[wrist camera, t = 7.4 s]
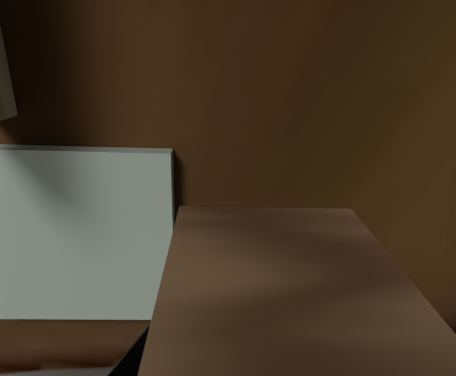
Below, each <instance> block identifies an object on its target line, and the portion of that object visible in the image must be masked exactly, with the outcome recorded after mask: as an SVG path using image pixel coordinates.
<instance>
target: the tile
mask: <svg viewBox="0 0 456 376" xmlns="http://www.w3.org/2000/svg"><path fill="white" fill-rule="evenodd" d="M174 225H175V211H174V173H173V149H161V148H122V147H83V146H44V145H5V144H0V319H87V320H151V319H152V315H153V311H154V307H155V303H156V299H157V295H158V291H159V286H160V282H161V278H162V274H163V270H164V266H165V262H166V258H167V254H168V250H169V246H170V242H171V238H172V234H173V229H174Z"/></svg>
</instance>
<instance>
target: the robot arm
mask: <svg viewBox="0 0 456 376" xmlns="http://www.w3.org/2000/svg"><path fill="white" fill-rule="evenodd" d="M149 327H150V324H149V326H148V327H147V328H146V329H145V330H144V332H143V333H142V334H141V335H140V336H139V338H138V339H137V340H136V341H135V343H134V344H133V345H132V346H131V347H130V349H129V350H128V351H127V352H126V353H125V355H124V356H123V357H122V358H121V360H120V361H119V362H118V363H117V364H116V366H115V367H114V368H113V369H112V371H111V372H110V373H109V374H108V375H107V376H138V372H139V368H140V364H141V360H142V356H143V352H144V348H145V343H146V339H147V335H148V331H149Z"/></svg>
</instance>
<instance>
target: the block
mask: <svg viewBox="0 0 456 376" xmlns="http://www.w3.org/2000/svg"><path fill="white" fill-rule="evenodd" d="M138 376H456V334H455V333H454V332H453V331H452V329H451V328H450V327H449V326H448V325H447V323H446V322H445V321H444V320H443V319H442V317H441V316H440V315H439V314H438V313H437V311H436V310H435V309H434V308H433V307H432V305H431V304H430V303H429V302H428V301H427V299H426V298H425V297H424V296H423V295H422V293H421V292H420V291H419V290H418V289H417V287H416V286H415V285H414V284H413V283H412V281H411V280H410V279H409V278H408V277H407V275H406V274H405V273H404V272H403V271H402V269H401V268H400V267H399V266H398V265H397V263H396V262H395V261H394V260H393V259H392V257H391V256H390V255H389V254H388V253H387V251H386V250H385V249H384V248H383V247H382V245H381V244H380V243H379V242H378V241H377V239H376V238H375V237H374V236H373V235H372V233H371V232H370V231H369V230H368V229H367V227H366V226H365V225H364V224H363V223H362V221H361V220H360V219H359V218H358V217H357V215H356V214H355V213H354V212H353V211H352V209H320V208H269V207H218V206H179V209H178V213H177V217H176V221H175V225H174V229H173V234H172V238H171V242H170V246H169V250H168V254H167V258H166V262H165V266H164V270H163V274H162V278H161V282H160V286H159V291H158V295H157V299H156V303H155V307H154V311H153V315H152V319H151V323H150V327H149V331H148V335H147V339H146V343H145V348H144V352H143V356H142V360H141V364H140V368H139V372H138Z"/></svg>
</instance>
